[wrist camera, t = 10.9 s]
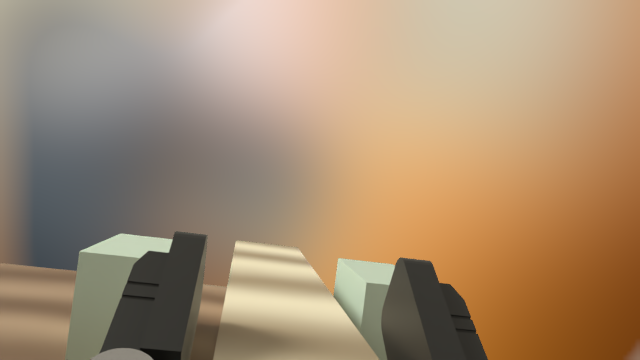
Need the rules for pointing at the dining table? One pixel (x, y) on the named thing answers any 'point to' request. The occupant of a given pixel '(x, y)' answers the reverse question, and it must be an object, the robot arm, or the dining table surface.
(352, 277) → the pale green blocks
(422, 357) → the robot arm
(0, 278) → the walnut stand
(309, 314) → the maple plank
